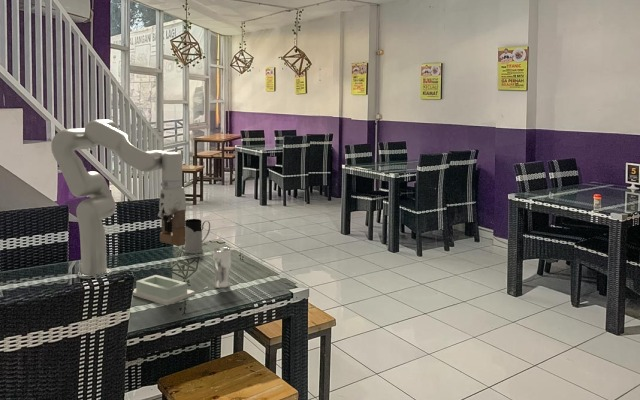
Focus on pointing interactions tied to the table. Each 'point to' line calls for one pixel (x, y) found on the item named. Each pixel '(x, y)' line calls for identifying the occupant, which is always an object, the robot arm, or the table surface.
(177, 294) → the end cap
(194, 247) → the grey handled cylinder
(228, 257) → the beer glass
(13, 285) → the table surface
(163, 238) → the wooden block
